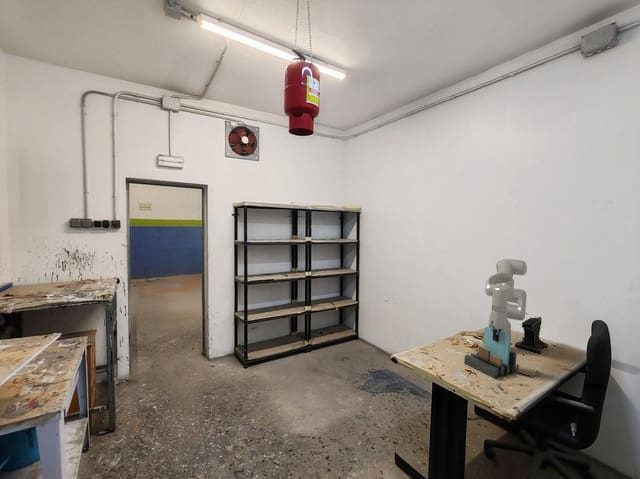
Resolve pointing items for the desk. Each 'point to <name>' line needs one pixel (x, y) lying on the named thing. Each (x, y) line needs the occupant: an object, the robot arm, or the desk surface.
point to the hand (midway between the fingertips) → (496, 340)
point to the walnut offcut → (484, 353)
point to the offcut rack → (491, 365)
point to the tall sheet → (498, 345)
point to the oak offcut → (496, 360)
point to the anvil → (531, 336)
